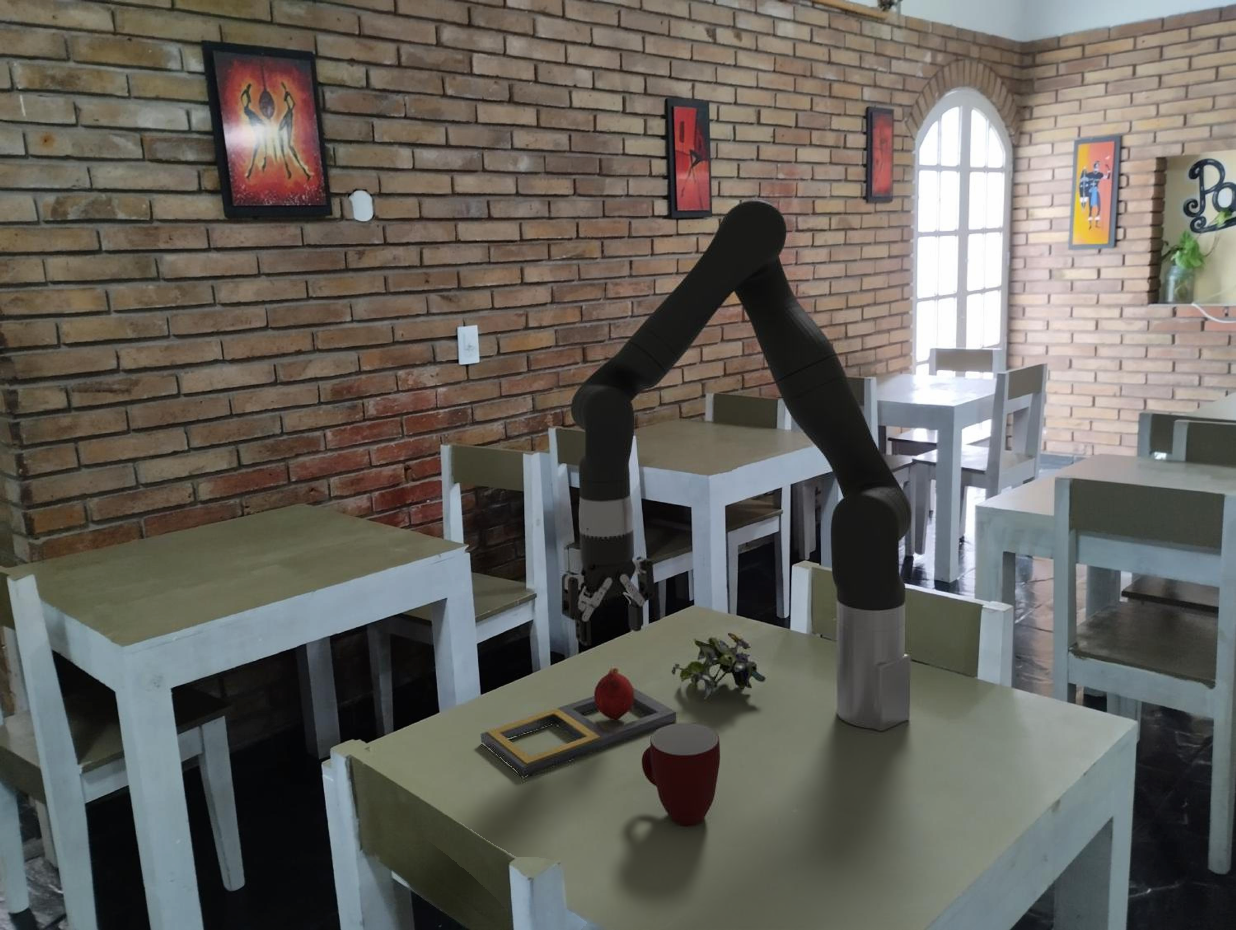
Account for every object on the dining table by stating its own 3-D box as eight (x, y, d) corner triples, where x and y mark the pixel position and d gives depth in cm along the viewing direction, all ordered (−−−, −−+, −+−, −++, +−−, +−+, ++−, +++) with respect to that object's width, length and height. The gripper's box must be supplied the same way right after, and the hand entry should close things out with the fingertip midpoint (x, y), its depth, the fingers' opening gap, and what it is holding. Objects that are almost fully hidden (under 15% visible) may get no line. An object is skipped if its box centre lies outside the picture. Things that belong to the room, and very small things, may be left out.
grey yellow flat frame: (676, 721, 138) (675, 710, 138) (523, 778, 124) (522, 766, 124) (628, 693, 148) (627, 683, 147) (481, 743, 134) (480, 732, 134)
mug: (622, 817, 114) (618, 739, 112) (659, 786, 121) (656, 712, 119) (699, 843, 108) (697, 762, 106) (733, 809, 115) (732, 732, 113)
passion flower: (739, 720, 149) (783, 668, 144) (696, 733, 141) (740, 679, 136) (696, 665, 155) (736, 613, 150) (652, 674, 147) (693, 620, 142)
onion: (631, 730, 136) (628, 677, 134) (591, 728, 137) (588, 675, 135) (638, 712, 141) (636, 660, 140) (600, 710, 143) (597, 659, 141)
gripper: (576, 542, 127) (582, 657, 130) (663, 523, 135) (666, 632, 138) (548, 530, 133) (554, 640, 136) (633, 513, 141) (636, 617, 144)
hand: (610, 636), depth 137 cm, fingers open, 8 cm apart
